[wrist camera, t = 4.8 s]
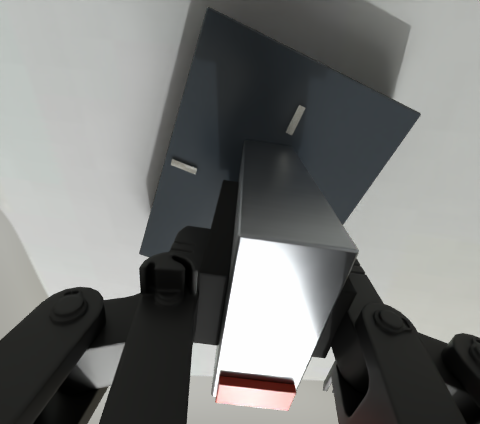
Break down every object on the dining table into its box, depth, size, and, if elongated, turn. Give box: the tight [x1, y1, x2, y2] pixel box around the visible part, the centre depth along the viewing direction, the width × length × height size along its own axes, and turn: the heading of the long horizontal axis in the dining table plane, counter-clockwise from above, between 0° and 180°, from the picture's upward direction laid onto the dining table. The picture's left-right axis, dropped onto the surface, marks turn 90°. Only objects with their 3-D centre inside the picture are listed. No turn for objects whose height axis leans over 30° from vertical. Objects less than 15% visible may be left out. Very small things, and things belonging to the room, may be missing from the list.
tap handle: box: [211, 140, 358, 411], centre depth 10 cm, size 6×2×9 cm, turn 172°
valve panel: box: [139, 7, 421, 257], centre depth 16 cm, size 14×11×3 cm
